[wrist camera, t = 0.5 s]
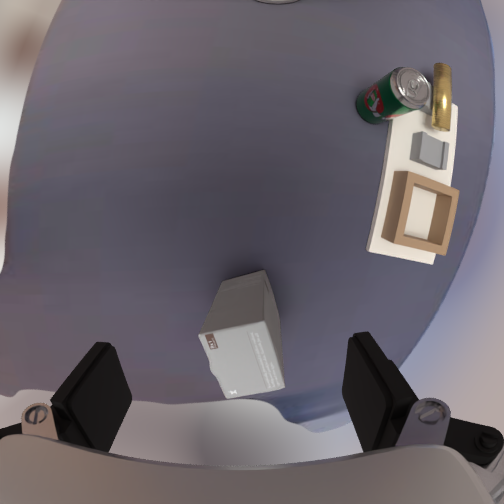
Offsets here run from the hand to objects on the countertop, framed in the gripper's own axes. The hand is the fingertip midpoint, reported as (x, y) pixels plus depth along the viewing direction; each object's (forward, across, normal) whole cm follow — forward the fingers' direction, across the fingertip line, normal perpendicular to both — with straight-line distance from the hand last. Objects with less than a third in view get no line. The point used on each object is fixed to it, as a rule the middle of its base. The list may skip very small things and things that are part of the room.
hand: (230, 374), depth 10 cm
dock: (+29, -26, -8) cm, 39 cm away
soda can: (+29, -19, -17) cm, 38 cm away
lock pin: (+25, -28, -19) cm, 42 cm away
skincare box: (+29, 0, +10) cm, 30 cm away
